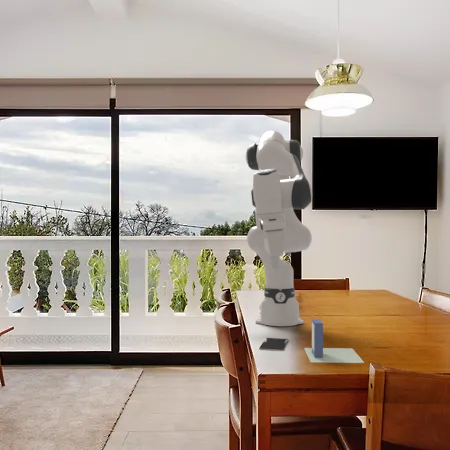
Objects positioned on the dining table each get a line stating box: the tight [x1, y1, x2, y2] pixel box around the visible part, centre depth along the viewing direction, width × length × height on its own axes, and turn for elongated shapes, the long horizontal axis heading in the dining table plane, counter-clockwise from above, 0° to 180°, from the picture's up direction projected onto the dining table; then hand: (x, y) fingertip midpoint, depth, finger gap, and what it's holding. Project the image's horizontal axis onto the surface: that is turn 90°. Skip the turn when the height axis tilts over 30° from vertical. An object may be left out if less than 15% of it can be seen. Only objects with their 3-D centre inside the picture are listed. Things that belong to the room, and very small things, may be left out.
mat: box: [303, 347, 365, 364], centre depth 146 cm, size 16×15×1 cm
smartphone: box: [258, 337, 289, 352], centre depth 158 cm, size 8×1×15 cm
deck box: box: [311, 318, 324, 358], centre depth 146 cm, size 6×2×10 cm, turn 177°
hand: (275, 268), depth 149 cm, fingers closed
